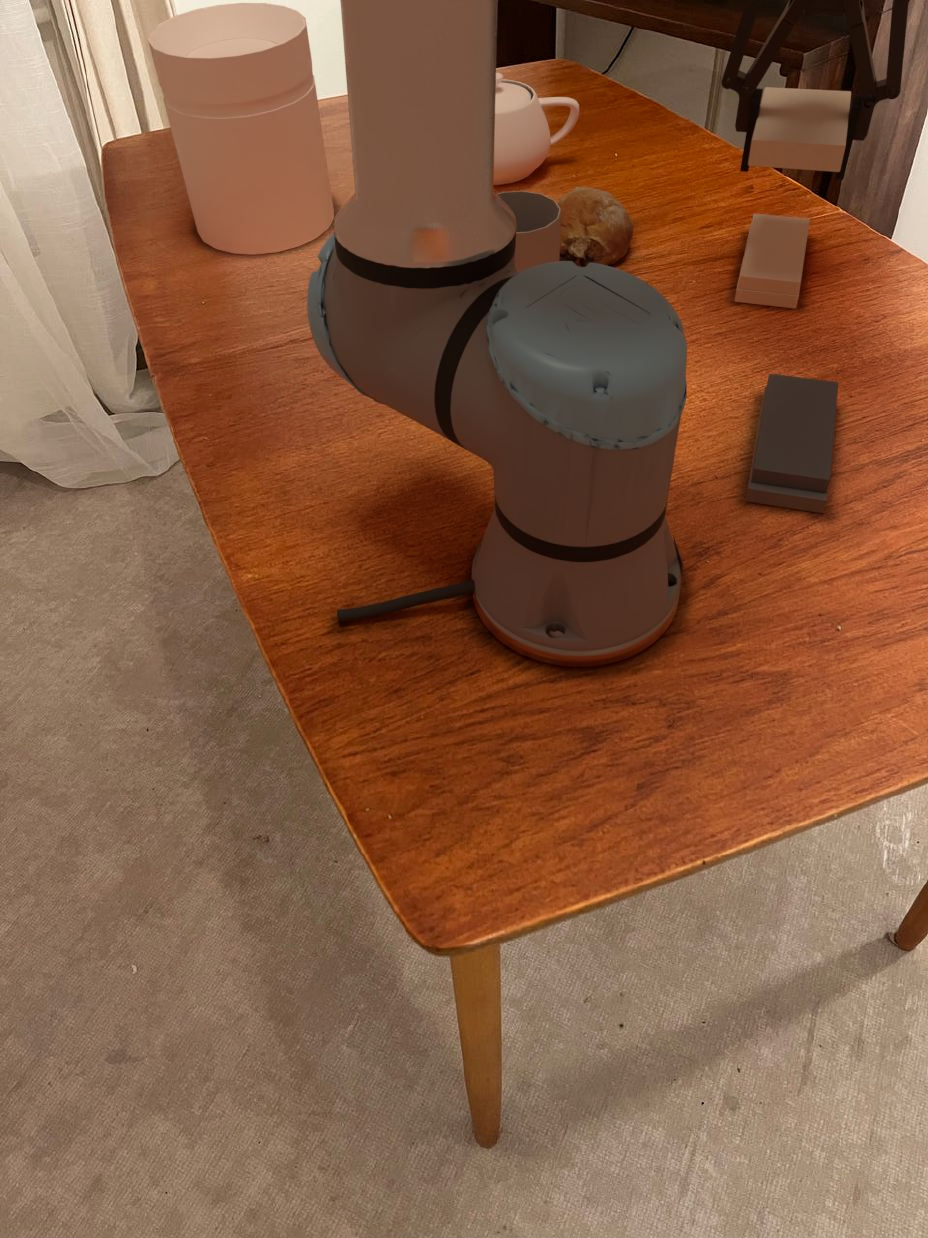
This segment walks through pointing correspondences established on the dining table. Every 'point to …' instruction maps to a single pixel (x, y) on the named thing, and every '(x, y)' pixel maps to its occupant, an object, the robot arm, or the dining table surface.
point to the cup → (534, 228)
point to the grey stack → (794, 444)
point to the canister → (246, 125)
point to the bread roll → (593, 227)
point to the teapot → (524, 129)
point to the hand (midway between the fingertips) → (792, 168)
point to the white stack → (773, 261)
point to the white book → (801, 129)
